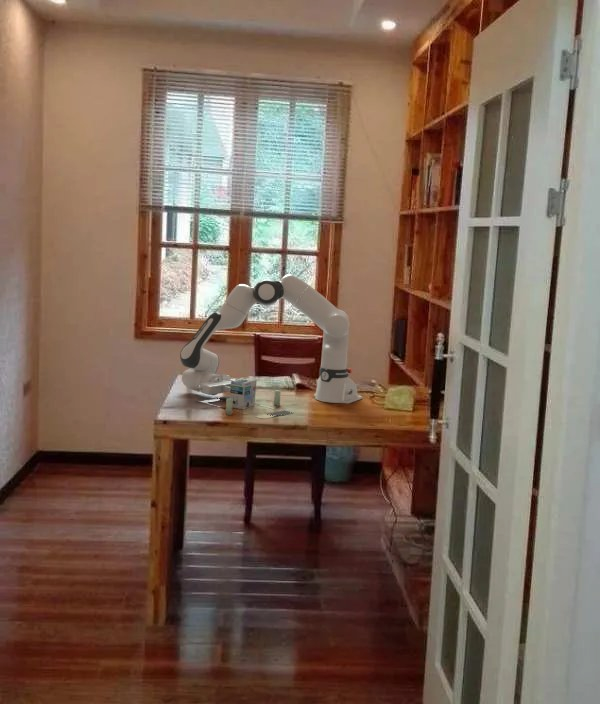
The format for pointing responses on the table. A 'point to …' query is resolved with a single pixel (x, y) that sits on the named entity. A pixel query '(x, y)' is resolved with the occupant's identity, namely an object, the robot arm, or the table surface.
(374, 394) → the table surface
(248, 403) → the light bulb box
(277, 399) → the trap lane
